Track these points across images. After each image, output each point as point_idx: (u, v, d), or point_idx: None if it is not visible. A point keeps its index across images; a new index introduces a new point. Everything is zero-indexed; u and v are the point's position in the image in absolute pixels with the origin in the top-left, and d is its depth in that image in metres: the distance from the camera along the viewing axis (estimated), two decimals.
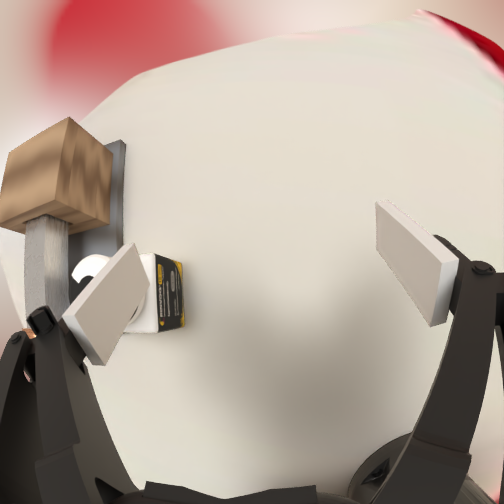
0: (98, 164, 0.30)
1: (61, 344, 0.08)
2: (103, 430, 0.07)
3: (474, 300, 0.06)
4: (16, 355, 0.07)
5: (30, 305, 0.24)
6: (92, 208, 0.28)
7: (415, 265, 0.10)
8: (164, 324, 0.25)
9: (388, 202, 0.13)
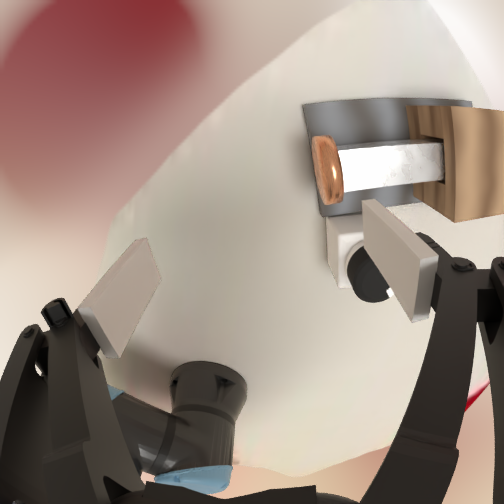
0: None
1: (76, 337, 0.08)
2: (114, 425, 0.07)
3: (455, 296, 0.06)
4: (28, 349, 0.08)
5: (362, 159, 0.25)
6: None
7: (397, 262, 0.10)
8: None
9: (374, 201, 0.14)
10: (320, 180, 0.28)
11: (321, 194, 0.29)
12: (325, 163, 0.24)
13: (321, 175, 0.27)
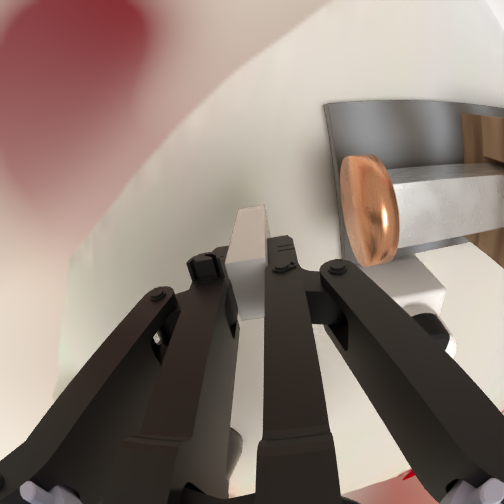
0: None
1: (219, 303, 0.09)
2: (226, 412, 0.07)
3: (281, 298, 0.08)
4: (149, 319, 0.08)
5: (424, 198, 0.15)
6: None
7: None
8: None
9: (261, 206, 0.16)
10: (354, 225, 0.18)
11: (353, 244, 0.19)
12: (373, 207, 0.14)
13: (358, 220, 0.17)
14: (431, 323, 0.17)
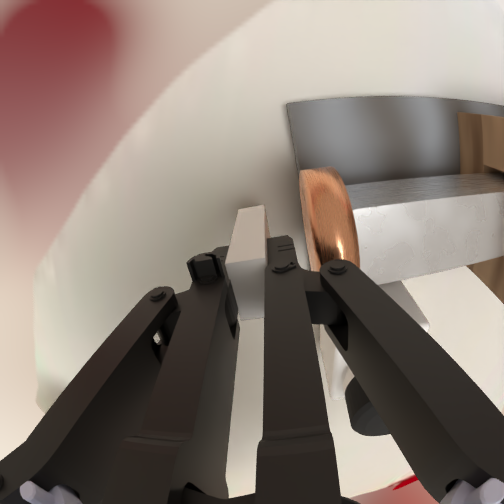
0: None
1: (220, 303, 0.09)
2: (226, 411, 0.07)
3: (280, 298, 0.08)
4: (149, 319, 0.08)
5: (400, 226, 0.12)
6: None
7: None
8: None
9: (261, 206, 0.16)
10: (312, 255, 0.15)
11: None
12: (322, 244, 0.11)
13: (314, 252, 0.14)
14: None
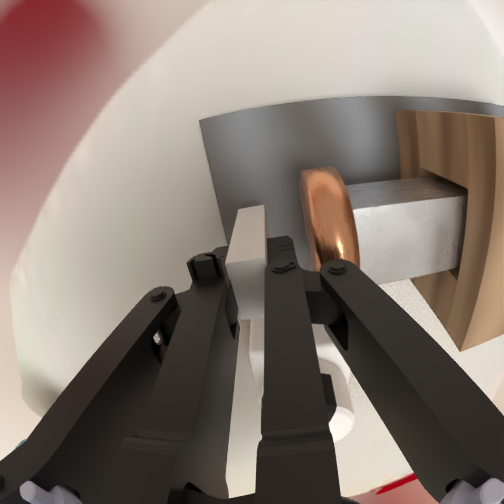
0: None
1: (220, 303, 0.09)
2: (226, 412, 0.07)
3: (280, 298, 0.08)
4: (149, 319, 0.08)
5: (400, 226, 0.12)
6: None
7: None
8: None
9: (261, 206, 0.16)
10: (312, 255, 0.15)
11: None
12: (323, 244, 0.11)
13: (314, 251, 0.14)
14: None
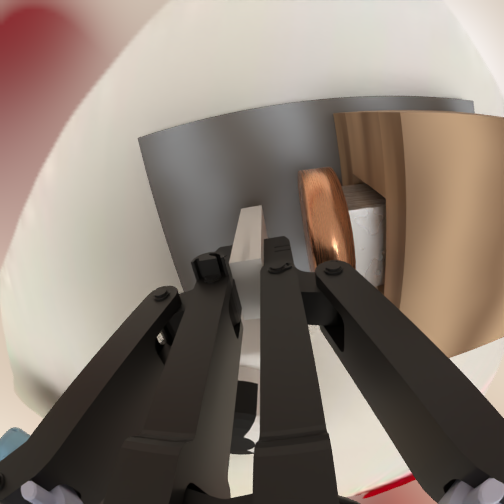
0: None
1: (223, 303, 0.09)
2: (229, 412, 0.07)
3: (276, 298, 0.08)
4: (152, 319, 0.08)
5: None
6: None
7: None
8: None
9: (258, 207, 0.16)
10: (310, 256, 0.15)
11: None
12: (318, 245, 0.11)
13: (311, 252, 0.14)
14: (236, 396, 0.16)
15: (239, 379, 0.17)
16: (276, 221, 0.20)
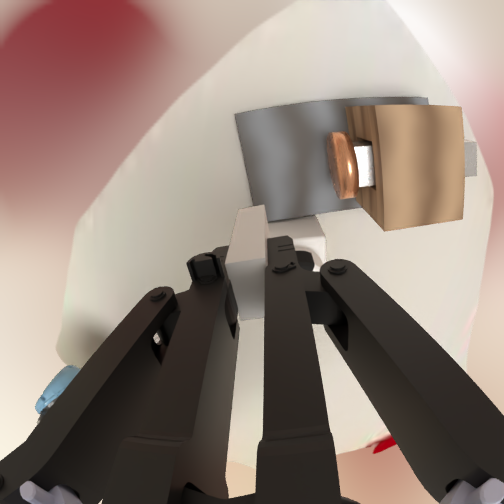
0: None
1: (219, 303, 0.09)
2: (226, 412, 0.07)
3: (281, 298, 0.08)
4: (149, 319, 0.08)
5: None
6: None
7: None
8: None
9: (261, 206, 0.16)
10: (335, 175, 0.29)
11: (335, 189, 0.30)
12: (342, 158, 0.24)
13: (336, 170, 0.27)
14: (301, 256, 0.29)
15: (300, 250, 0.30)
16: (314, 165, 0.33)
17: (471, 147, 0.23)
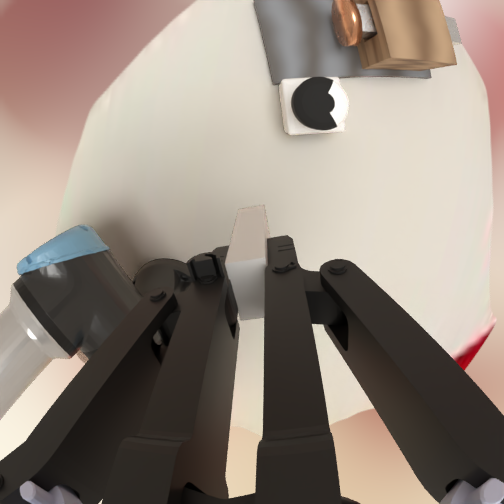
0: (413, 67, 0.29)
1: (220, 303, 0.09)
2: (225, 412, 0.07)
3: (281, 298, 0.08)
4: (149, 319, 0.08)
5: None
6: (377, 65, 0.29)
7: None
8: None
9: (261, 207, 0.16)
10: (341, 29, 0.26)
11: (343, 42, 0.27)
12: (345, 5, 0.22)
13: (342, 22, 0.25)
14: None
15: None
16: (322, 37, 0.30)
17: (451, 21, 0.21)
